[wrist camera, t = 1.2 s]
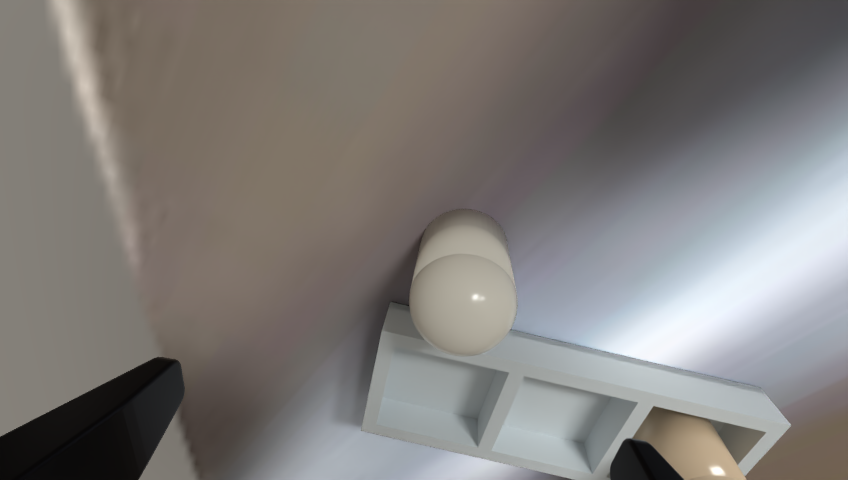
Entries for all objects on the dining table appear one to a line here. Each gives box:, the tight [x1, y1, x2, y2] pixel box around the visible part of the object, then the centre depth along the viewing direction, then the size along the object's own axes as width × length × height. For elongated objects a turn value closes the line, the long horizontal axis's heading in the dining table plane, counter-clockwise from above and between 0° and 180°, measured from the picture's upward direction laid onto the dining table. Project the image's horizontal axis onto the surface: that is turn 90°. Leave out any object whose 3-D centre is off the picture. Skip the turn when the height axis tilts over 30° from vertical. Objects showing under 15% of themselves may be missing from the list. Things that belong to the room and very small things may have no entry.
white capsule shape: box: [409, 209, 518, 357], centre depth 18 cm, size 4×4×7 cm
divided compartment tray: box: [361, 302, 791, 480], centre depth 24 cm, size 21×8×2 cm, turn 77°
